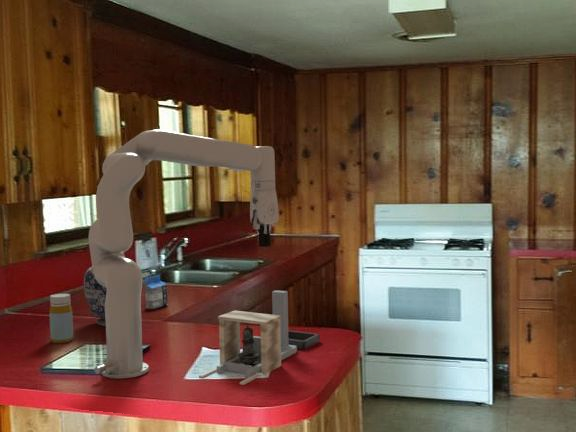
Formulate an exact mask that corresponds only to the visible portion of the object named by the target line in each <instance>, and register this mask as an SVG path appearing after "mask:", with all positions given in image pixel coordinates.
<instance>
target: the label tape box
mask: <svg viewBox="0 0 576 432" xmlns="http://www.w3.org/2000/svg"><path fill="white" fill-rule="evenodd" d="M152 279H153V280H152ZM144 291H145V292H144V293H145V294H144V295H145V308H146V309H147V310H154V309H159V308H161V307H165V305H166V306H169V302H168V285H167V284H166V283H165V282H163V281H161V274H157V275H153V276H148V277H145V278H144Z"/></svg>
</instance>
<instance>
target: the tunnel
mask: <svg viewBox="0 0 576 432" xmlns="http://www.w3.org/2000/svg"><path fill="white" fill-rule="evenodd" d="M280 319H281V316H280V315H273V314H272V313H271V314H269V313H259V312H251V311H244V310H243V311H241V310H232V311H229V312H227V313H224V314H220V315H218V316H217V320H218V337H219V365H220V364H223V363H225V362H227V361H229V360H231V359H233V358H236V357H238V354H239V353H241V323H246V324H254V325H260V337H261V362H260V363H261V371H260V373H262V374H266V375H267V374H268V373H271V372H273V371H274V370H276V369H278V368H280V367H281V366H282V360H281V321H280Z"/></svg>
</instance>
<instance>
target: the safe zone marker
mask: <svg viewBox="0 0 576 432" xmlns="http://www.w3.org/2000/svg"><path fill="white" fill-rule="evenodd" d="M214 373H217V366H216V367H213V368H211V369H210V370H207V371H206V372H203V373H201V374H199V375H198V378H201V379H202V378H205V377H208V376H209V375H211V374H214ZM261 376H263V373H261V372H258V373H256V374H255V375H253V376H251V377H246V379H243V380H242V381H240V382H239V385H242V386H244V385H247V384H248V383H250V382H252V381H254V380H255V379H257V378H259V377H261Z"/></svg>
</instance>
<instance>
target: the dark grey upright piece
mask: <svg viewBox="0 0 576 432" xmlns="http://www.w3.org/2000/svg"><path fill="white" fill-rule="evenodd" d="M253 336H254V329H252V328H251V327H250V326H249V324H247V325H246V327H245V328H243V330H242V340H241V343H242V351H240V353H239V354H238V356H239V359H240V361H241V364H244V365H251V366H252V367H254V366H256V365H257V364H256V363H257V362H256V361H257V359H258V356H259V353H257V352H255V351H254V342H255V341H254V340H253Z"/></svg>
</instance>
